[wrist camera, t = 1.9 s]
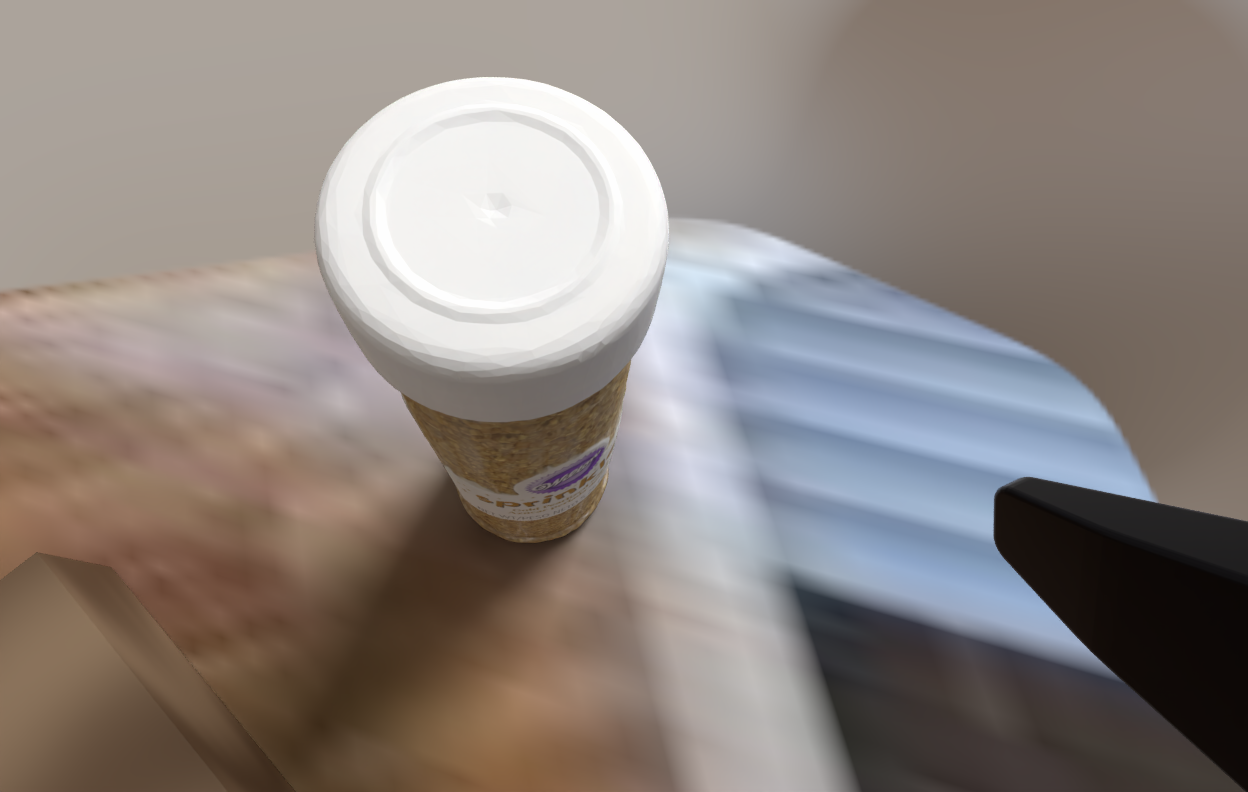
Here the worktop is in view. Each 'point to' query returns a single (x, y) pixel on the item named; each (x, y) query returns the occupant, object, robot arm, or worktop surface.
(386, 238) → the sprinkles bottle
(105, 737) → the walnut block
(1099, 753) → the worktop surface
